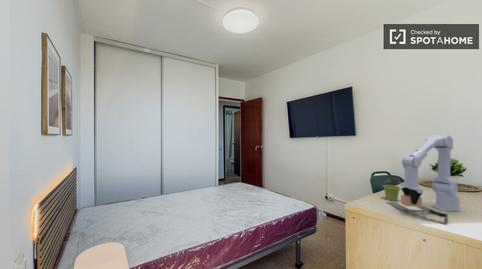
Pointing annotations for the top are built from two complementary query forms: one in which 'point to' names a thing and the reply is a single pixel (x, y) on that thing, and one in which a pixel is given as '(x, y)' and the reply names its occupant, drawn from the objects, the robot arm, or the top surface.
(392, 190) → the plant pot
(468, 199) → the top surface
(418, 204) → the terracotta card box
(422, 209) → the charcoal mat
